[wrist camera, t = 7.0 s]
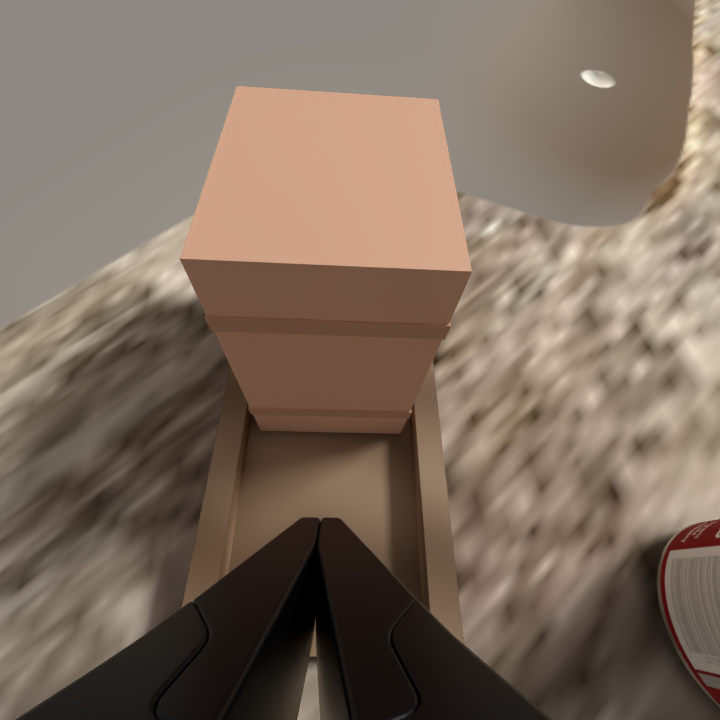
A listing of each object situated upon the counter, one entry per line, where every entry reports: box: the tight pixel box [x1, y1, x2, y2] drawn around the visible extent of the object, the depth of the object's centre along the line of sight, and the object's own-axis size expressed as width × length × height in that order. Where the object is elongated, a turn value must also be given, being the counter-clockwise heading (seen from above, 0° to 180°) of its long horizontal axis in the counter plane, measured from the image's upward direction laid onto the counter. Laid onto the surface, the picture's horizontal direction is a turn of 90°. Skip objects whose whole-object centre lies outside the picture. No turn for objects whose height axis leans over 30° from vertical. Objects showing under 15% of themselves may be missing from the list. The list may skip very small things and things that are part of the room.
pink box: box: [180, 86, 472, 434], centre depth 14 cm, size 7×6×10 cm
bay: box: [182, 361, 464, 656], centre depth 14 cm, size 18×9×10 cm, turn 0°
